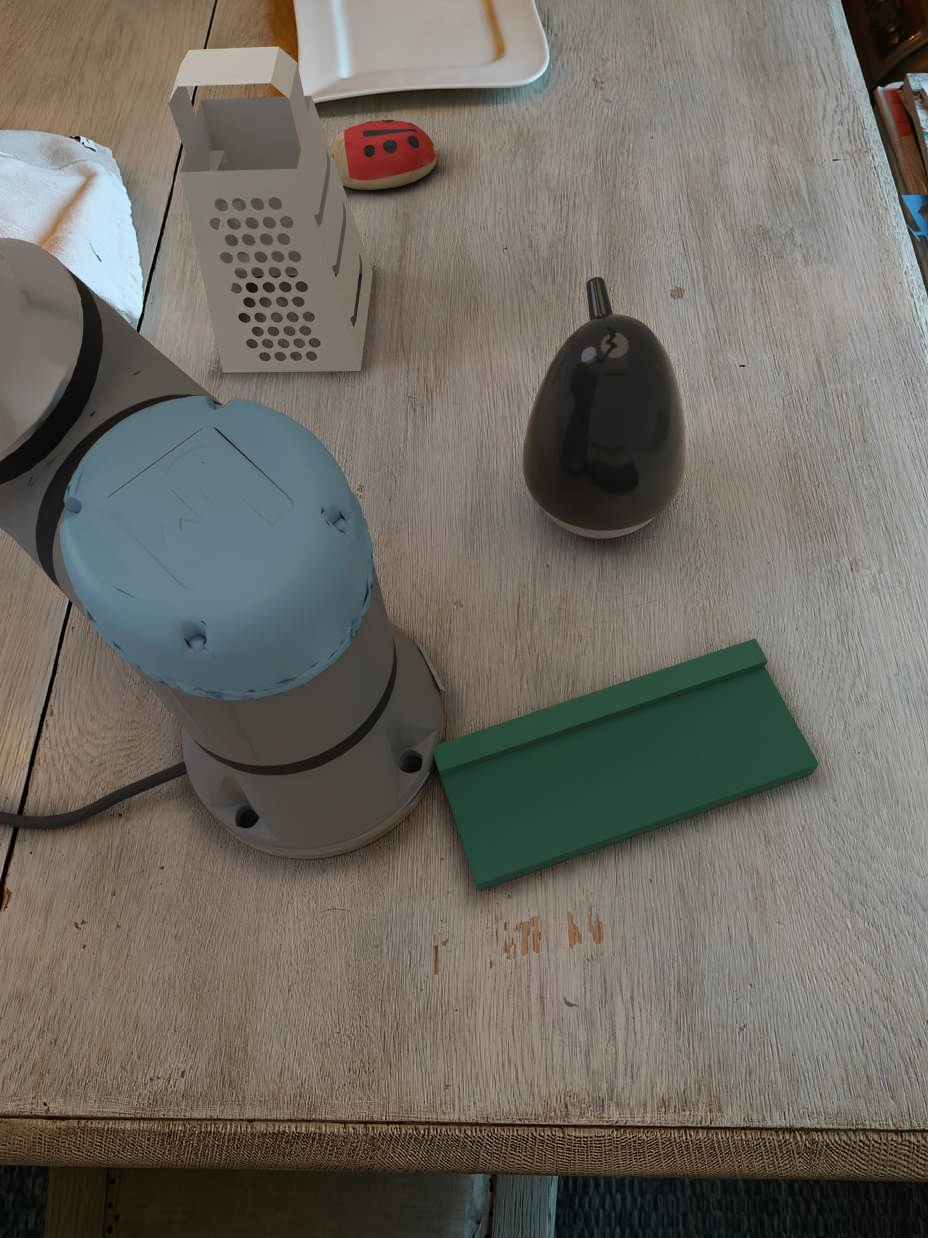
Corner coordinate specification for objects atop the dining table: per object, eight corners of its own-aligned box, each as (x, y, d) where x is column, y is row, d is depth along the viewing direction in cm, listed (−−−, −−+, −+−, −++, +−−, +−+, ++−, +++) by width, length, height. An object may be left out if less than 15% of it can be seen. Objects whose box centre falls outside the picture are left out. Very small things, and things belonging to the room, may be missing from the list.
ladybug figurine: (325, 153, 84) (317, 114, 81) (437, 138, 84) (433, 99, 81) (329, 202, 81) (321, 164, 78) (444, 187, 81) (441, 149, 78)
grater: (360, 370, 71) (305, 117, 54) (222, 372, 72) (124, 123, 55) (372, 272, 76) (325, 12, 59) (244, 275, 77) (160, 19, 60)
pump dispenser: (655, 427, 67) (685, 248, 54) (693, 550, 62) (736, 385, 48) (511, 448, 67) (505, 274, 54) (537, 573, 62) (537, 415, 48)
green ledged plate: (478, 891, 52) (476, 881, 50) (434, 760, 56) (430, 746, 54) (812, 773, 54) (823, 759, 52) (747, 655, 58) (755, 637, 56)
